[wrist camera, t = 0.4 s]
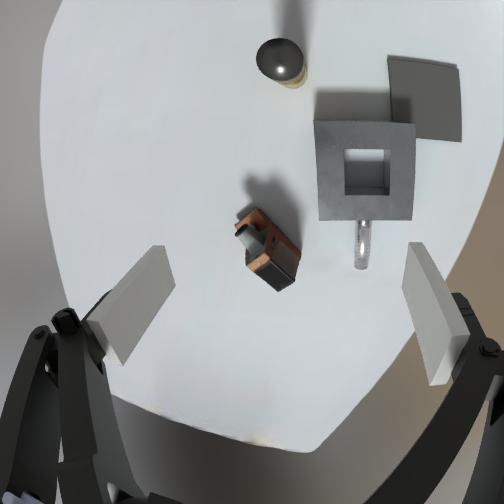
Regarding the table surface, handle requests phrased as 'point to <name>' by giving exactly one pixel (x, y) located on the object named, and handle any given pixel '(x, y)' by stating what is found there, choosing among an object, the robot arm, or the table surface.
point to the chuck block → (365, 198)
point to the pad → (426, 99)
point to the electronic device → (268, 250)
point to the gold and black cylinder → (282, 62)
